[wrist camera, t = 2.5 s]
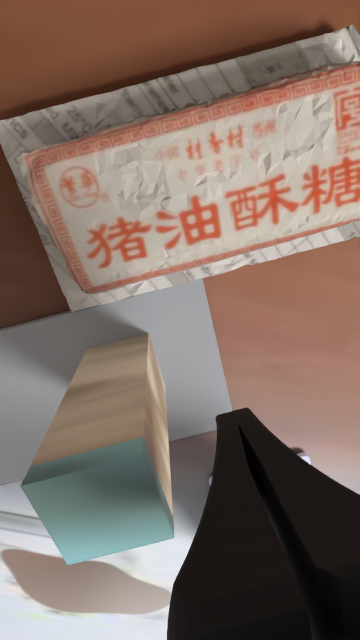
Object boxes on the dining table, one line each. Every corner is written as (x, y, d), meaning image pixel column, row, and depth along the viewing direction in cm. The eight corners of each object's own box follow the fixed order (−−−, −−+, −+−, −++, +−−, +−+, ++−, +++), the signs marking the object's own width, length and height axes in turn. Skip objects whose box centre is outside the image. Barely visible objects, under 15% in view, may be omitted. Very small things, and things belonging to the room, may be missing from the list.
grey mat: (233, 419, 23) (235, 424, 22) (-54, 493, 23) (-59, 500, 22) (200, 276, 19) (202, 278, 18) (-145, 367, 19) (-154, 372, 18)
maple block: (165, 386, 20) (174, 537, 11) (107, 401, 20) (67, 564, 11) (148, 333, 19) (142, 454, 10) (86, 349, 19) (20, 486, 10)
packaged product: (424, -34, 11) (416, 242, 15) (345, 36, 16) (354, 234, 19) (-58, 97, 11) (50, 339, 15) (3, 129, 16) (74, 308, 19)
